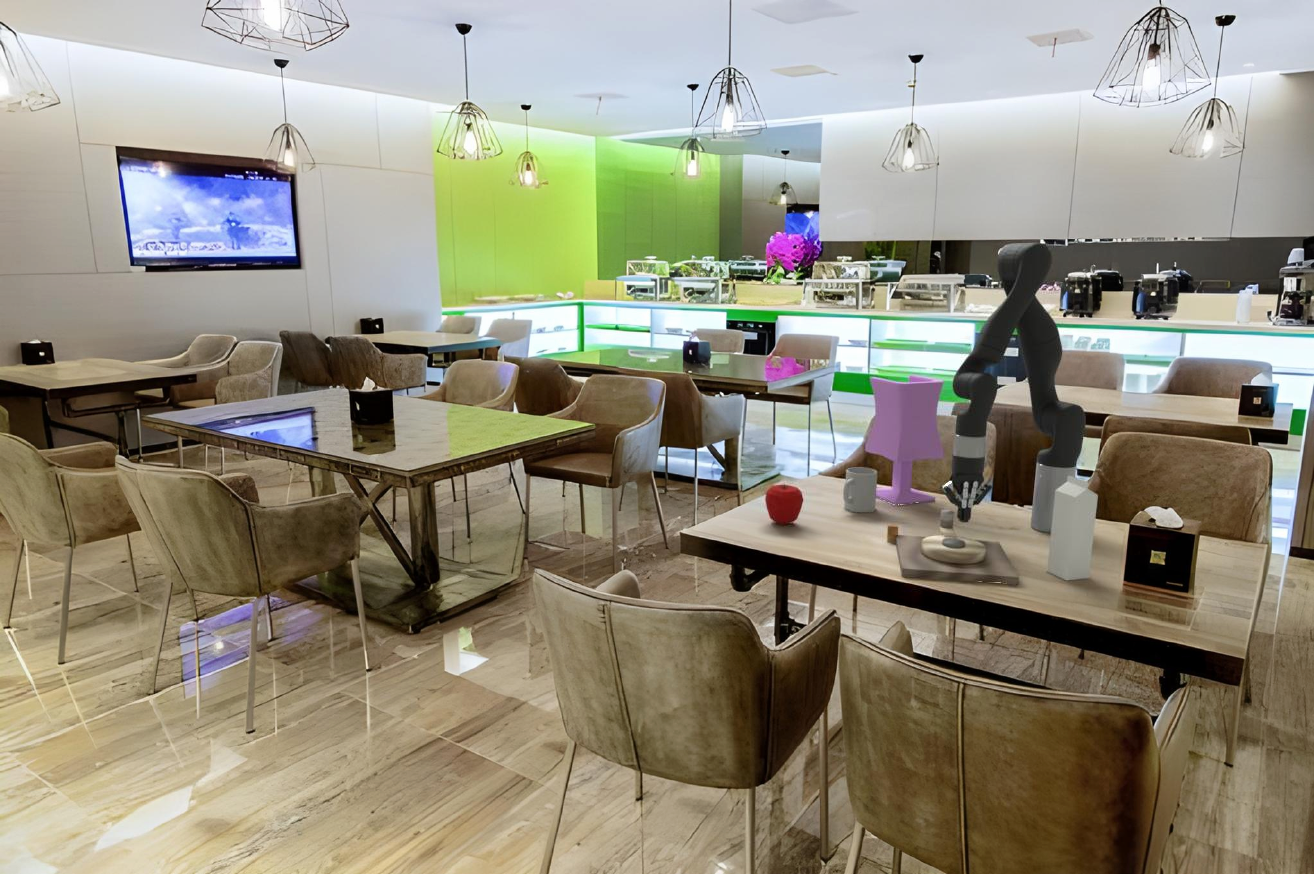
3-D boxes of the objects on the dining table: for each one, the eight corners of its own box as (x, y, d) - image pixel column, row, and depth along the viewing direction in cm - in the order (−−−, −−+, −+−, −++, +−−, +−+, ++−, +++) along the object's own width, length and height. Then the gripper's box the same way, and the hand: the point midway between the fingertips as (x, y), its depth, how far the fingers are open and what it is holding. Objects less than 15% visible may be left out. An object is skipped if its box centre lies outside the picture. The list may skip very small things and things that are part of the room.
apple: (764, 528, 219) (765, 487, 217) (764, 517, 229) (765, 478, 227) (803, 529, 218) (804, 488, 216) (801, 518, 228) (802, 479, 225)
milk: (1066, 581, 184) (1076, 483, 179) (1046, 571, 190) (1055, 476, 185) (1089, 578, 186) (1100, 480, 181) (1068, 568, 191) (1078, 474, 187)
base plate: (996, 546, 206) (998, 530, 205) (1017, 585, 181) (1019, 567, 181) (886, 538, 211) (887, 523, 211) (892, 575, 187) (893, 558, 186)
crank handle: (990, 565, 187) (992, 540, 186) (924, 561, 190) (925, 535, 188) (974, 534, 208) (976, 511, 207) (915, 530, 211) (917, 507, 210)
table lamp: (906, 488, 258) (913, 374, 251) (940, 501, 244) (949, 381, 237) (862, 493, 253) (869, 376, 246) (894, 507, 239) (902, 384, 232)
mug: (855, 502, 243) (857, 465, 241) (881, 508, 237) (883, 470, 235) (830, 510, 235) (832, 472, 233) (857, 517, 229) (859, 478, 227)
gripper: (985, 448, 210) (979, 515, 214) (936, 450, 208) (931, 518, 211) (1002, 455, 203) (996, 524, 206) (951, 457, 201) (946, 527, 204)
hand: (963, 521), depth 209 cm, fingers closed
